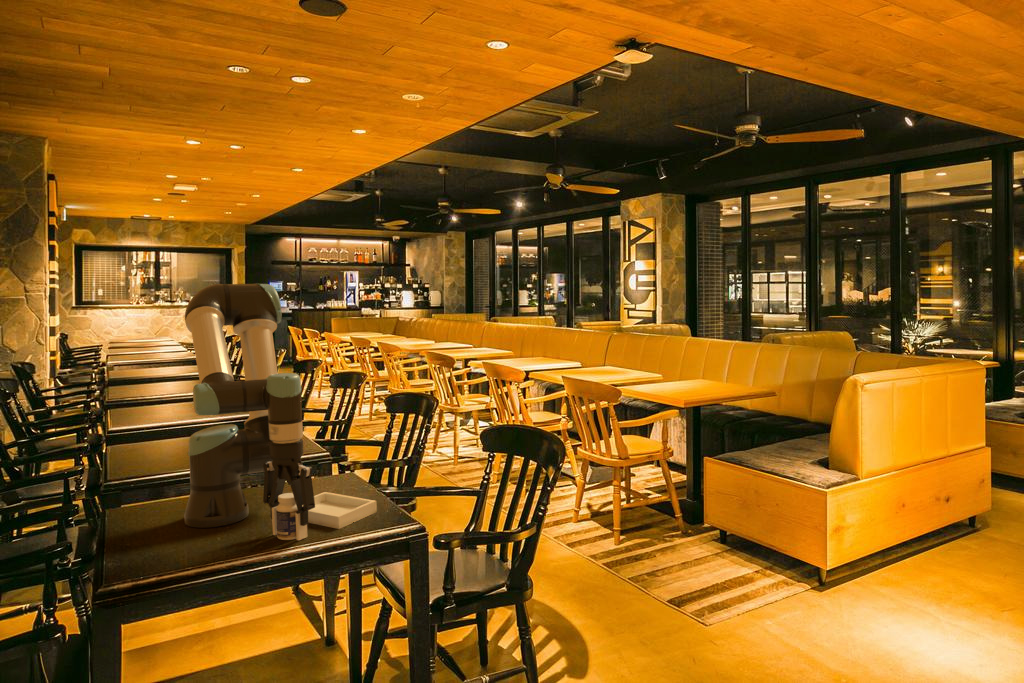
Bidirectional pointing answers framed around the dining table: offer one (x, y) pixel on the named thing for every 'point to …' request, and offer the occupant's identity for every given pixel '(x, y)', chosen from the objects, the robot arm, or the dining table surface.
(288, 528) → the pill bottle
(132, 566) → the dining table surface
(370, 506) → the serving tray
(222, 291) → the robot arm
